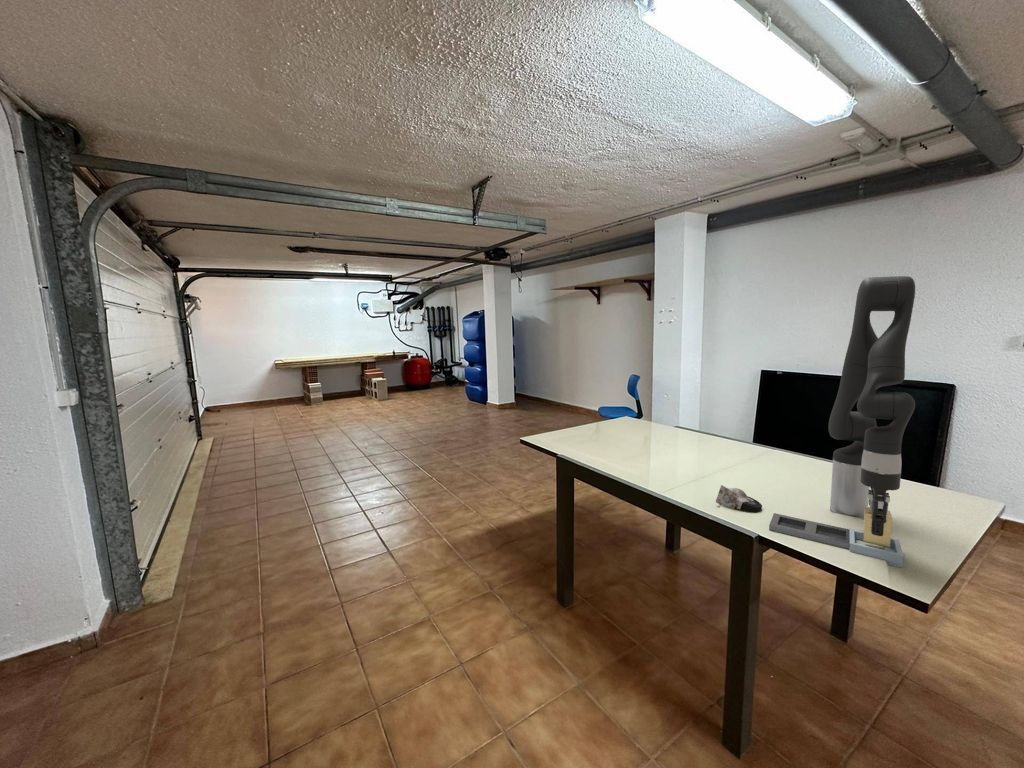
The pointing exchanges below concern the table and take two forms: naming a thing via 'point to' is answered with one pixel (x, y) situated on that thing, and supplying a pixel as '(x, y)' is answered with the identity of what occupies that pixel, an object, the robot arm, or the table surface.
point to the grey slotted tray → (810, 530)
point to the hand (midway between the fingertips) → (876, 530)
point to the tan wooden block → (867, 527)
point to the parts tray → (877, 549)
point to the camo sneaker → (737, 500)
